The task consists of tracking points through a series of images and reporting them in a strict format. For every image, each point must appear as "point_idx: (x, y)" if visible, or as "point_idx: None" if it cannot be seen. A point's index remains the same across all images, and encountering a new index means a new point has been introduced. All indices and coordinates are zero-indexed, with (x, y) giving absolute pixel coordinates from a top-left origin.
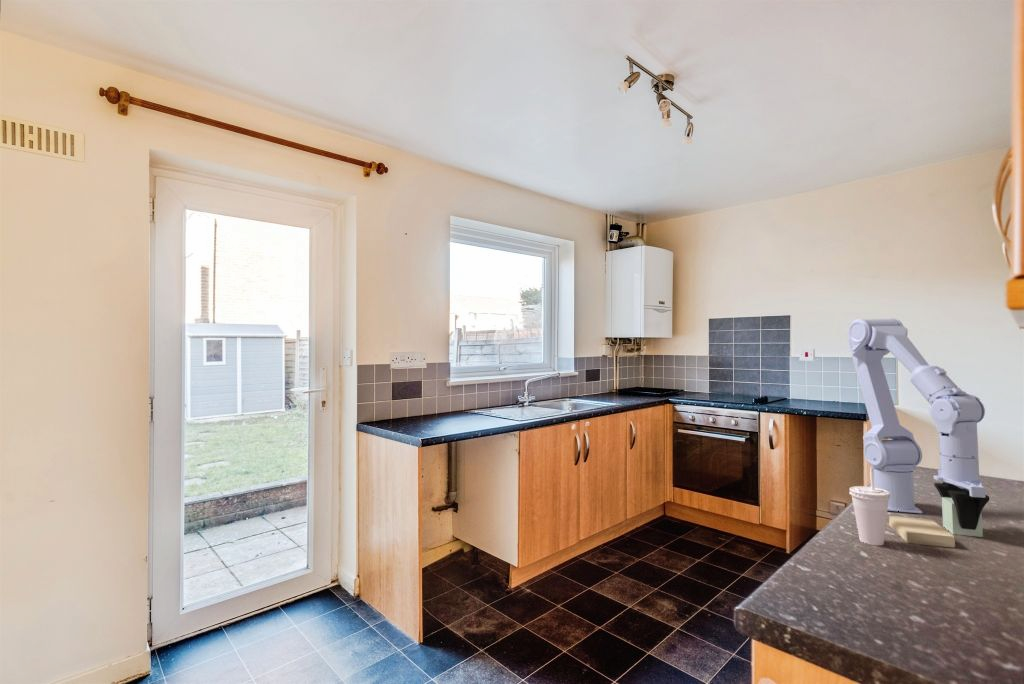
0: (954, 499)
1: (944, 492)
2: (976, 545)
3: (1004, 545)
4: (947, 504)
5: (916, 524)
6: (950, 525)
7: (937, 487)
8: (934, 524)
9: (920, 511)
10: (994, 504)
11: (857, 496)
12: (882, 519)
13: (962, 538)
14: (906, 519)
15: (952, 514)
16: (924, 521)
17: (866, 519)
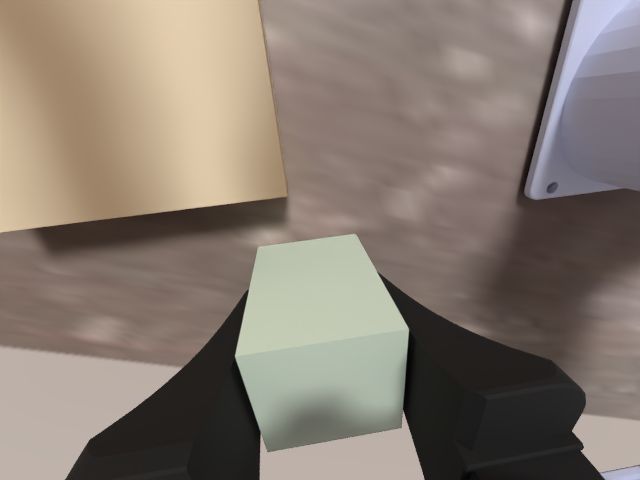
0: (152, 411)
1: (429, 374)
2: (146, 288)
3: None
4: (310, 322)
5: (102, 80)
6: (280, 258)
7: (485, 373)
8: (182, 190)
9: (532, 192)
10: (629, 390)
11: None
12: None
13: (216, 265)
14: (201, 36)
15: (246, 302)
16: (220, 150)
17: None
